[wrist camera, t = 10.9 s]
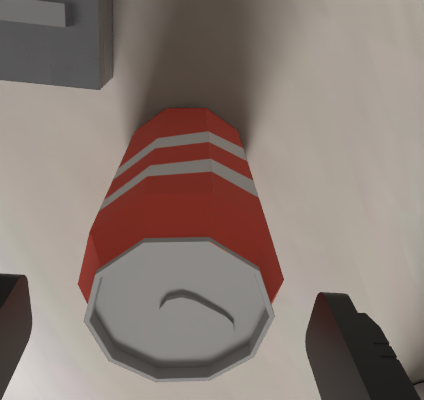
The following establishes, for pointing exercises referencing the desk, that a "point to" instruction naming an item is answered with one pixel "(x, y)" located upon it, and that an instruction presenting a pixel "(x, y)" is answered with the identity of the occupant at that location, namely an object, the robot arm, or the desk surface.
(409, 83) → the desk surface
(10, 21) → the socket plate
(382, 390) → the robot arm
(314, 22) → the desk surface
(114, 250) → the beverage can
